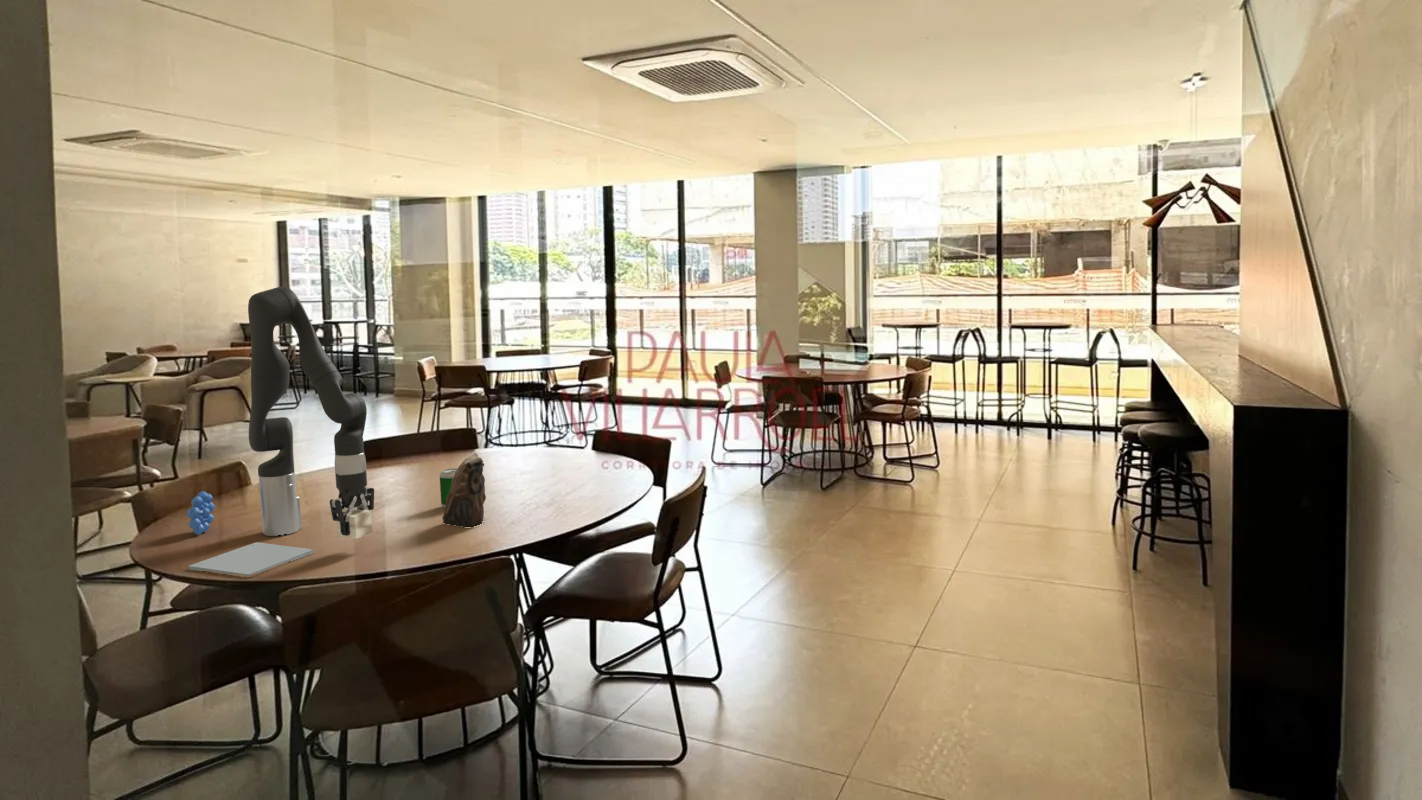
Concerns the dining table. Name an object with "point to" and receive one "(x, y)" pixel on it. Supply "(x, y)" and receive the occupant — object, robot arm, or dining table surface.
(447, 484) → the soda can
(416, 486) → the dining table surface
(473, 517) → the owl
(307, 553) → the slate board
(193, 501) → the grapes
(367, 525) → the maple block
